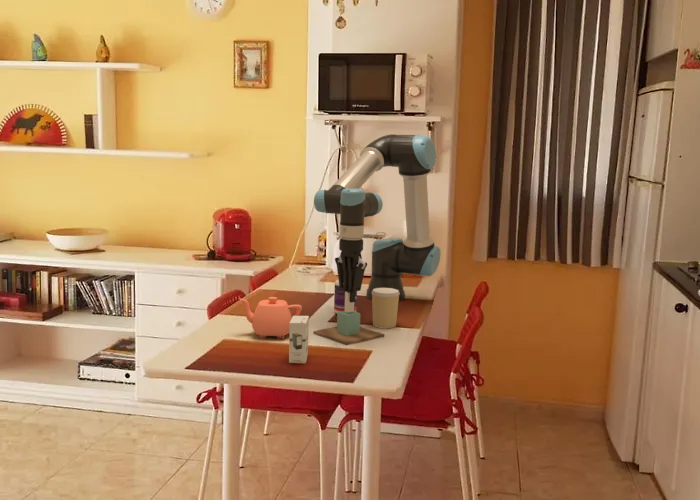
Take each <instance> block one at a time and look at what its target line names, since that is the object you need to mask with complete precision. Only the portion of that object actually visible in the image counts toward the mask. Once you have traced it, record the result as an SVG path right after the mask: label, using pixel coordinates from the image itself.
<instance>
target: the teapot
mask: <svg viewBox="0 0 700 500" xmlns="http://www.w3.org/2000/svg"><path fill="white" fill-rule="evenodd" d="M238 300H239V301H241V303H242V304H243V307H244V312H245V318H246V319H247V320H246V321H247V322H249V323H250V324H251V326H252V329H253V332H254V333H255V334H256V335H257V336H258V338H259V339H266V338H267V337H276V338H277V339H279V338H280V339H279V340H281V338H282V339H285V338H286V337H285V336H287V335H288V334H289V328H290V324H289V323H290V321H291V319H292V317H293V316H301V312H302V310H303V306H302V305H301V304H288V302H287V301H286V300H283V299H278V297H276V296H269V297H268V298H267V299H262V300H260V301H259V302H258V304H257V306H256V308H255V311H254V312H252V311H251V307H250V303H249V300H247V299H245V298H240V297H239V298H238ZM291 309H295V313H294V315H292V311H291Z"/></svg>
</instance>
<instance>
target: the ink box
mask: <svg viewBox="0 0 700 500" xmlns="http://www.w3.org/2000/svg"><path fill="white" fill-rule="evenodd" d="M309 321H310V316H309V315H299V316H294V315H292V319H291V321H290V323H289V324H290V328H289V333H288V334H289V339H288V350H289V351H288V363H289V364H306V363H307V359H308V356H309V330H310V329H309V327H310V326H309V325H310V322H309Z"/></svg>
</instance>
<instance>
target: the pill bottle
mask: <svg viewBox="0 0 700 500" xmlns="http://www.w3.org/2000/svg"><path fill="white" fill-rule="evenodd" d="M333 293H334V295H333V296H334V299H333V304H334V305H333V312H334V313H336V314H337V312H341V311H345V301H344V290H343V289H342V288H340V287H339V279H338V278H337V279H336V280H335V282H334V292H333ZM357 300H358V291H356V294H355V302H354V311H355V312H357V304H358V303H357V302H358V301H357Z"/></svg>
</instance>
